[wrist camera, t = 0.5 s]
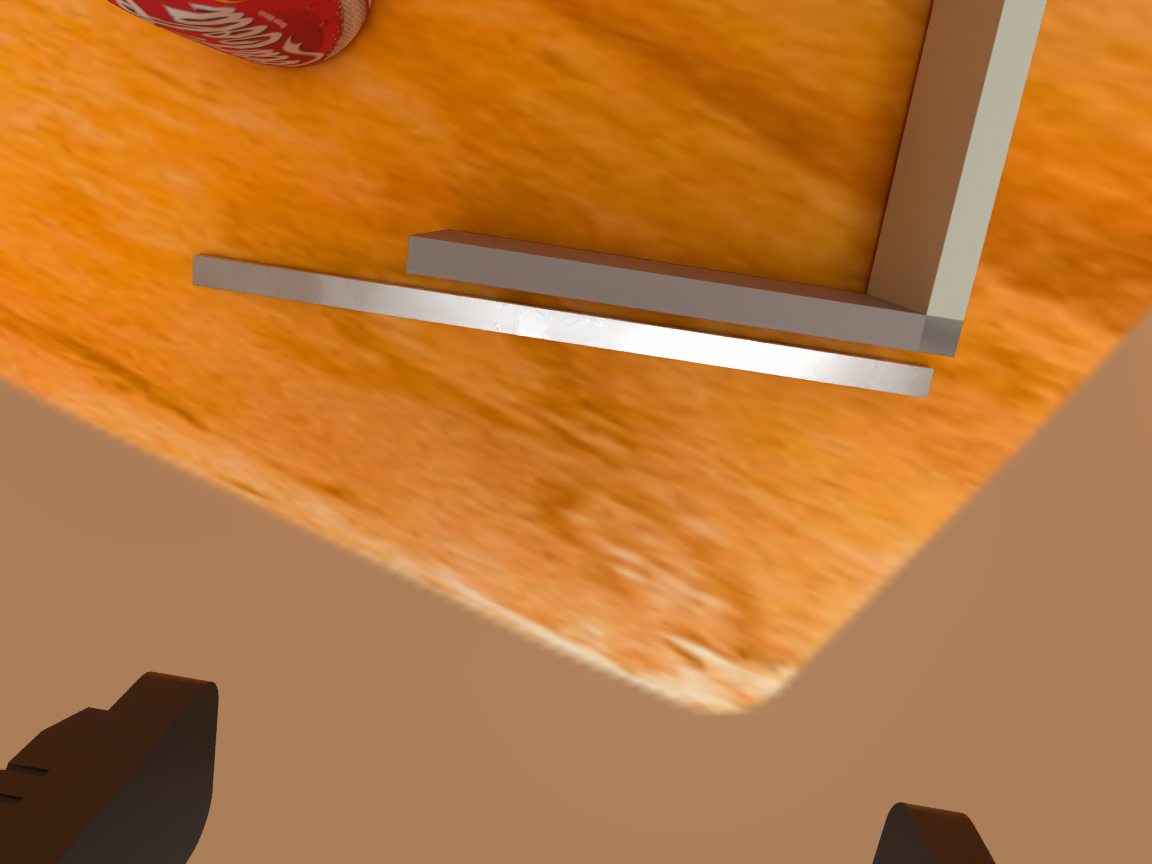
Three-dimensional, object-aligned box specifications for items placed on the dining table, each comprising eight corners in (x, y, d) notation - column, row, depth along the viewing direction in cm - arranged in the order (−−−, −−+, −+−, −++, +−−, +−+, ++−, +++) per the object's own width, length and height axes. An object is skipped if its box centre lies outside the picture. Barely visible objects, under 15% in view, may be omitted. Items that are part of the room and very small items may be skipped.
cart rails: (229, -419, 31) (219, -436, 30) (1092, -289, 31) (1105, -301, 30) (201, 283, 37) (192, 284, 36) (920, 393, 37) (926, 398, 36)
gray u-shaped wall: (506, -296, 31) (475, -438, 24) (1019, -218, 31) (1134, -338, 24) (445, 259, 36) (405, 272, 29) (888, 327, 36) (953, 357, 29)
